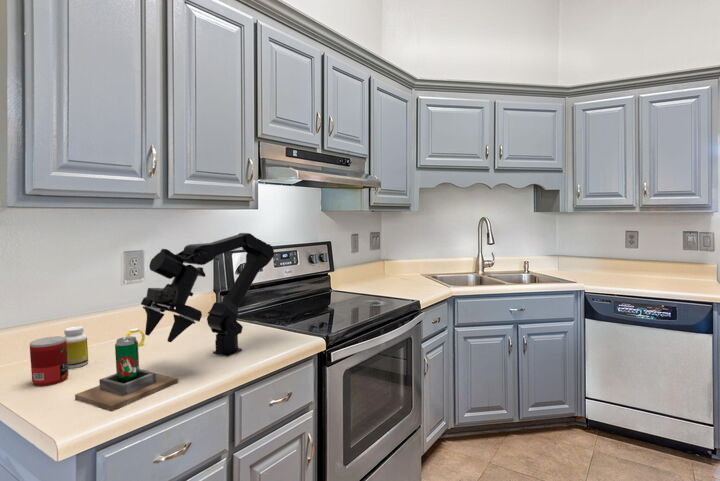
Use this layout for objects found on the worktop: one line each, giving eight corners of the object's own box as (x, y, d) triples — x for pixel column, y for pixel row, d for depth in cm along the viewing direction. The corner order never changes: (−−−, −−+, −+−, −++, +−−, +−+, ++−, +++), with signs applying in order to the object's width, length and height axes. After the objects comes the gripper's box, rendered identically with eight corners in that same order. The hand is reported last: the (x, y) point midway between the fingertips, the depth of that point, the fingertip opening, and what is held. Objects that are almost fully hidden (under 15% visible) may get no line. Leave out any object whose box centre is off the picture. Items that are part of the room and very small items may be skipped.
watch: (128, 350, 142) (126, 333, 141) (124, 349, 144) (122, 331, 143) (146, 344, 147) (144, 327, 146) (142, 343, 149) (140, 326, 148)
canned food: (69, 381, 116) (66, 341, 115) (31, 389, 111) (28, 346, 110) (68, 373, 122) (65, 334, 121) (32, 379, 118) (29, 339, 117)
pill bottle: (92, 363, 129) (90, 326, 129) (70, 370, 124) (68, 332, 123) (81, 360, 133) (79, 324, 132) (59, 366, 127) (56, 329, 126)
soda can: (128, 381, 113) (126, 335, 112) (144, 383, 111) (142, 336, 110) (112, 388, 108) (109, 341, 107) (128, 391, 107) (126, 342, 106)
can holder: (142, 373, 121) (142, 360, 121) (178, 382, 115) (177, 368, 114) (75, 399, 105) (74, 384, 105) (112, 411, 99) (111, 395, 98)
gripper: (138, 270, 123) (111, 323, 117) (184, 279, 114) (157, 337, 108) (168, 284, 132) (144, 334, 126) (212, 293, 123) (189, 348, 117)
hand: (157, 338), depth 119 cm, fingers open, 9 cm apart
